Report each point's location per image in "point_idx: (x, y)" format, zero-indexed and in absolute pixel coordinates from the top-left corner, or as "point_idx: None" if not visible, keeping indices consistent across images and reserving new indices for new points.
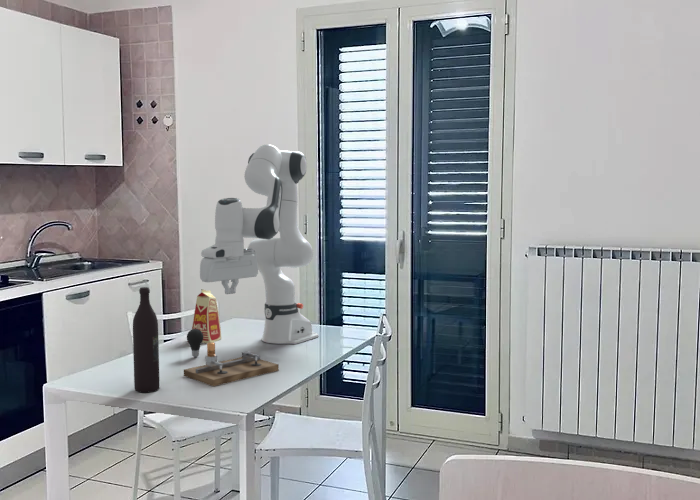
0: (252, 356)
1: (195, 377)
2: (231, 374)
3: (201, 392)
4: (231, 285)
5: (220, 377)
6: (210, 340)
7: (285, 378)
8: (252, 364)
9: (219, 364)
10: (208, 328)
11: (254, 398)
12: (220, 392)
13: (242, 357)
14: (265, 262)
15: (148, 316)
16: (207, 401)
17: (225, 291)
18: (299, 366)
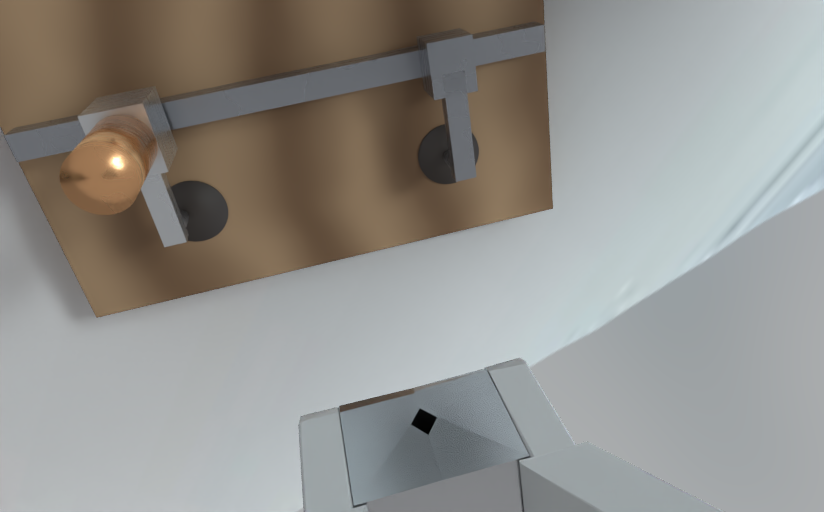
0: (449, 149)
1: None
2: (231, 269)
3: (16, 359)
4: (574, 499)
5: (150, 294)
6: None
7: (482, 328)
8: (432, 140)
9: (163, 241)
10: None
11: (229, 503)
12: (114, 393)
13: (419, 45)
14: None
15: None
16: (19, 477)
17: (307, 469)
18: (664, 179)
